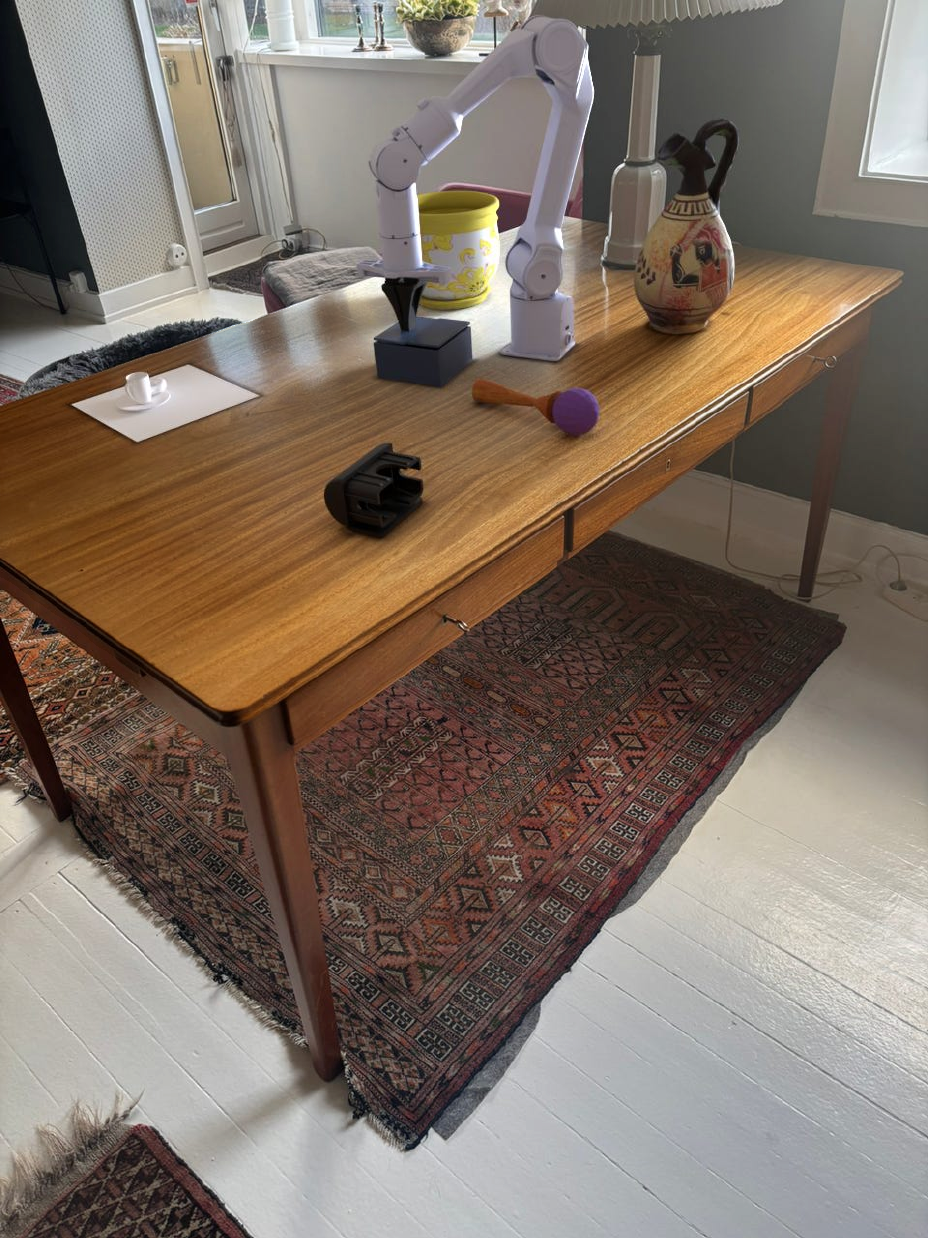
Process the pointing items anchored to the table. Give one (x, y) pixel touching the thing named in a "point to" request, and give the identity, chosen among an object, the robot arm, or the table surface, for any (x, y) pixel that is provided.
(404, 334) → the flap
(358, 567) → the table surface
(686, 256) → the ceramic jug
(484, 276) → the flowerpot
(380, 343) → the carton
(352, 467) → the end cap
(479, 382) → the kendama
